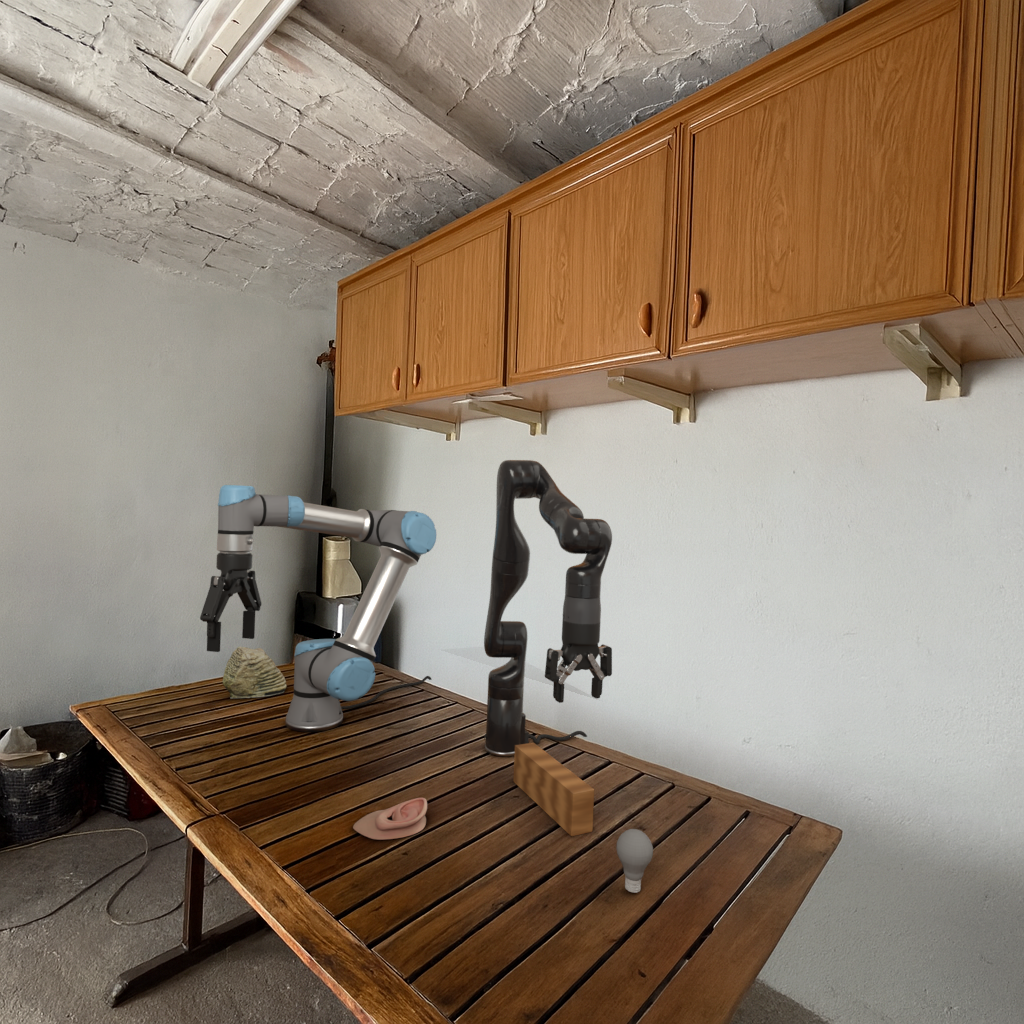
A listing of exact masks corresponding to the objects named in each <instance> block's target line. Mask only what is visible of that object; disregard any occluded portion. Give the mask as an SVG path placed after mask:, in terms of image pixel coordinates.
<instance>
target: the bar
mask: <svg viewBox="0 0 1024 1024" xmlns="http://www.w3.org/2000/svg"><path fill="white" fill-rule="evenodd" d="M512 781H513V783H514V784H515V785H516V786H517V787H518V788H519V789H520V790H522V791H523V792H524V794H526V795H527V796H528V797H529V798H530V799H531V800H532V801H533V802H534V803H535V804H536V805H538V807H540V808H541V809H542V811H543V812H545V814H547V815H548V816H549V817H550V818H551V819H552V820H553V821H554V822H556V823H557V825H559V826H560V827H561V828H562V829H563V830H564V831H565V832H566V833H567V834H568V835H569V836H570V837H575V836H580V835H584V834H588V833H592V832H593V828H594V807H595V805H594V803H595V789H594V788H593V787H592V786H591V785H589V784H588V783H587V782H585V781H584V780H582V778H580V777H579V776H578V775H576V774H575V773H574V772H573V771H571V770H570V769H568V768H567V767H566V766H565V765H563V764H562V763H561V762H559V761H558V760H556V758H555V757H553V756H552V755H550V754H549V753H548V752H546V751H545V750H544V749H542V747H540V746H539V745H538V744H535V743H534V742H528V743H527V744H521V745H515V755H514V756H513V779H512Z"/></svg>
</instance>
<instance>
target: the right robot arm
mask: <svg viewBox="0 0 1024 1024" xmlns="http://www.w3.org/2000/svg"><path fill="white" fill-rule="evenodd" d="M523 499H524V500H525V499H526V500H527V499H529V500H530V499H538V500H539V502H538V511H539V514H540V516H541V518H542V520H543V521H544V522H545V523H546V524H547V525H548V526H549V527H550V528H551V529H552V530H553V531H554V534H555V536H556V538H557V541H558V545H559V547H560V548H561V549H562V550H563V551H565V552H566V553H569V554H572V555H585V557H584V559H583V561H582V562H581V563H578V564H575V565H571V566H569V567H568V568H567V569H566V572H565V586H564V587H565V588H564V599H563V605H562V620H561V621H562V625H561V642H562V643H561V647H560V649H553V648H552V647H549V648H548V649H546V659H545V669H544V670H545V671H544V678H545V679H546V680H549V681H550V682H553V687H552V688H553V689H552V697H553V699H555V702H557V703H559V704H561V703H564V702H565V681H566V679H567V678H568V677H569V676H571V675H572V673H573V672H579V671H581V670H584V671H589V672H590V673H591V674H592V676H593V677H591V688H590V689H591V691H590V695H591V697H592V698H594V699H600V698H601V696H602V694H603V680H604V679H605V678H607V677H611V676H612V674H613V648H612V647H611V646H609V645H607V644H603V643H602V644H600V645H599V643H600V641H601V640H600V639H601V619H602V617H601V616H602V614H601V613H602V604H601V590H602V589H601V588H602V577H603V573H604V570H605V567H606V563H607V560H608V557H609V554H610V551H611V547H612V542H613V531H612V529H611V526H610V525H609V523H608V522H607V521H606V520H604V519H602V518H585V516H584V513H583V511H582V509H581V508H580V507H579V506H578V505H577V504H575V502H573V501H572V500H571V499H570V498H568V497H567V496H566V495H565V494H564V493H563V492H562V491H561V489H560V488H559V487H558V485H557V483H556V482H555V480H554V479H553V477H552V476H551V475H550V473H549V472H548V471H547V469H546V468H545V466H543V465H542V463H540V462H539V461H538V460H537V461H536V460H532V459H529V460H528V459H507V460H506V459H505V460H503V461H502V462H501V463H500V464H499V466H498V469H497V475H496V502H495V503H496V507H495V511H496V512H495V515H496V516H495V517H496V518H495V532H494V541H493V549H492V560H491V573H490V574H491V575H490V589H489V590H490V591H489V593H490V594H489V602H488V607H487V608H488V609H487V615H486V620H485V621H486V622H485V626H484V627H485V628H484V629H485V630H484V635H483V650H484V653H485V655H486V656H487V657H488V658H493V659H503V658H504V659H505V658H506V659H509V658H510V660H509V661H507V662H506V663H505V664H502V665H501V666H499V667H498V666H497V667H495V668H493V669H492V670H490V671H489V673H488V677H487V679H488V680H487V699H486V700H487V702H486V703H487V704H486V722H485V723H486V724H485V725H486V726H485V734H484V736H483V737H484V739H483V740H485V743H484V750H485V752H486V753H488V754H489V755H491V756H495V757H505V758H506V757H514V755H515V745H521V744H527V743H530V740H529V739H531V740H532V743H535V744H536V745H538V744H540V742H541V739H548V740H552V741H557V742H564V741H567V740H568V741H569V740H570V739H573V738H574V737H576V736H579V735H580V736H582V737H583V738H587V737H588V735H587V734H586V733H585V732H584V731H582V730H576V731H573V732H571V733H569V734H567V735H565V736H555V735H552V734H546V733H542V734H539V735H537V737H536V736H535V735H533V734H530V732H529V731H528V730H526V719H527V718H526V717H527V715H526V714H525V713H524V712H523V711H524V693H525V692H524V690H525V674H526V673H525V672H526V662H527V661H526V660H527V649H528V639H529V638H528V637H529V636H528V628H527V625H526V624H525V622H524V621H519V620H502V618H503V615H504V613H505V610H506V608H507V607H508V605H509V603H510V602H511V601H512V599H513V598H514V597H515V596H516V594H517V593H518V592H519V591H520V589H521V588H522V587H523V586H524V584H525V583H526V581H527V579H528V578H529V577H528V576H529V570H530V569H529V568H530V562H531V561H530V560H531V549H530V546H529V543H528V541H527V539H526V537H525V536H524V535H525V534H524V533H523V532H522V530H521V528H520V527H519V524H518V522H517V519H516V514H515V501H516V500H523ZM598 656H599V663H598V661H597V658H598ZM561 659H562V660H561ZM560 660H561V661H560ZM559 661H560V662H559ZM570 736H571V737H570Z"/></svg>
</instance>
